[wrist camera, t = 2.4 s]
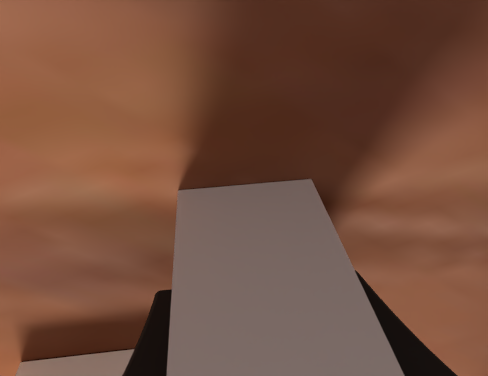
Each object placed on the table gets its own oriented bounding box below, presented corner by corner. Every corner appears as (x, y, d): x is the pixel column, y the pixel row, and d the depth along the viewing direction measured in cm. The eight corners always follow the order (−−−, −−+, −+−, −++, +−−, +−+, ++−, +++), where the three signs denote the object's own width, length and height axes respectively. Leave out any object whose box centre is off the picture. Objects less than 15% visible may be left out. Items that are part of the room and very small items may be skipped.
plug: (311, 178, 13) (480, 536, 5) (303, 271, 15) (409, 602, 8) (178, 190, 12) (153, 588, 5) (192, 282, 15) (191, 638, 7)
